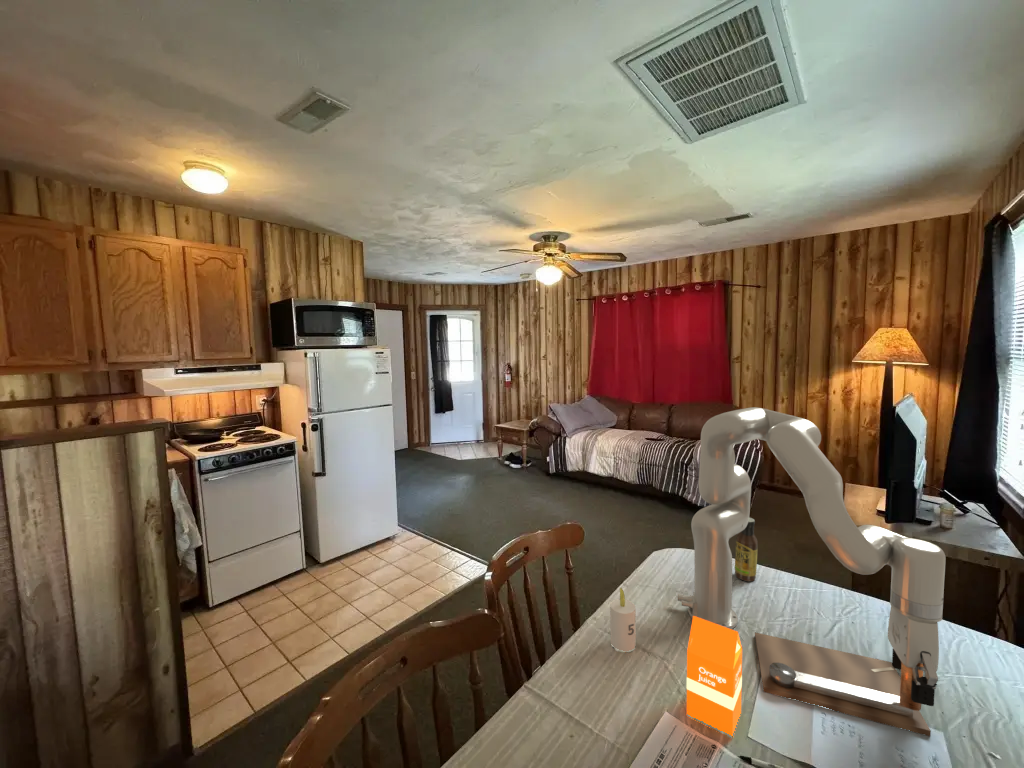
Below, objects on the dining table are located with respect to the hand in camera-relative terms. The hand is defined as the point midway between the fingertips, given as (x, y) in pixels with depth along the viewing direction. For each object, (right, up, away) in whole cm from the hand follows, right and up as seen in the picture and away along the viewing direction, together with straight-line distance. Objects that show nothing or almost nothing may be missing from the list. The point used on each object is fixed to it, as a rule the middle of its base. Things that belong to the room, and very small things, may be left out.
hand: (911, 685), depth 86 cm
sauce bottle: (-4, -3, +54) cm, 54 cm away
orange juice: (-38, -8, +3) cm, 39 cm away
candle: (-52, -7, +24) cm, 58 cm away
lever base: (-8, -7, +11) cm, 15 cm away
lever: (-10, -6, +5) cm, 13 cm away
